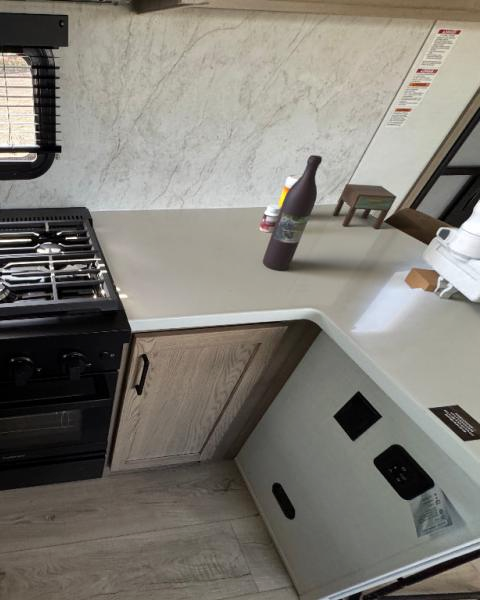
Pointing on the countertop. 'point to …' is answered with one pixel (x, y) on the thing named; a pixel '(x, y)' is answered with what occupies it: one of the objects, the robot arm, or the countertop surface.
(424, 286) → the storage box
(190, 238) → the countertop surface
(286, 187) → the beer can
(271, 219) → the pill bottle
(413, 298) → the countertop surface
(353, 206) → the drawer table
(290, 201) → the wine bottle
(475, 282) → the robot arm
